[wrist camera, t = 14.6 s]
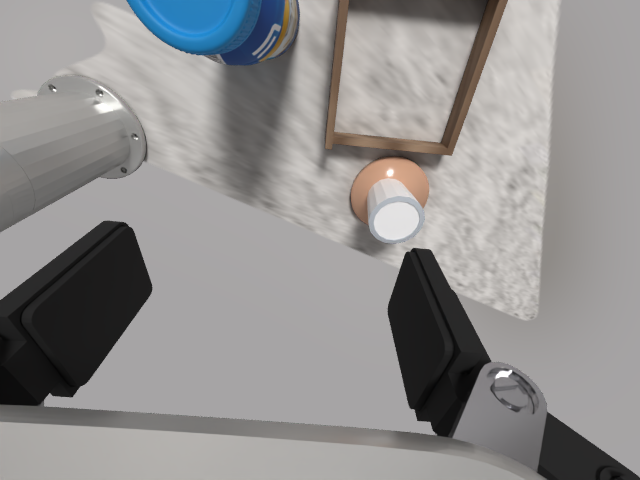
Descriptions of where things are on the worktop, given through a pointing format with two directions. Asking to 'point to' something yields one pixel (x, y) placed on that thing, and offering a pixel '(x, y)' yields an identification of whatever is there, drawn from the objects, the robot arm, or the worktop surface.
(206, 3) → the beverage bottle
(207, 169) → the worktop surface
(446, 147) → the frame
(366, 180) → the tan flat disc
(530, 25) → the worktop surface
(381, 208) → the white cup
